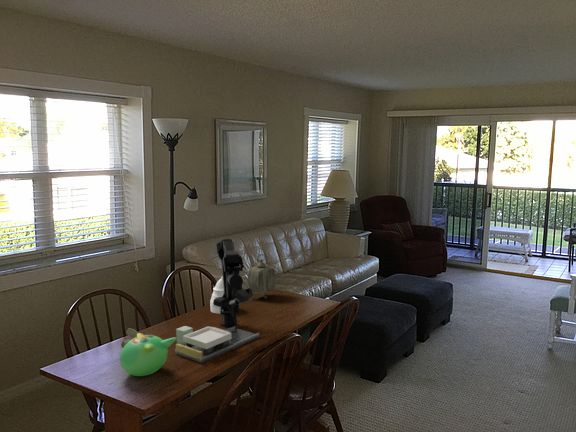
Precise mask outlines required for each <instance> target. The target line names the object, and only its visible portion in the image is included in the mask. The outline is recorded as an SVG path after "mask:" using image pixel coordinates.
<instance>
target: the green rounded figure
mask: <svg viewBox="0 0 576 432" xmlns="http://www.w3.org/2000/svg"><path fill="white" fill-rule="evenodd" d="M129 340H130V341H129V342H128V343H127V344H126V345H125V346H124V348H123V347H122V350H121V352H120V354H119V362H120V366H121V368H122V369H123V371H125V372H126V373H127V374H129V375H130V376H134V377H145V376H150V375H151V374H154V373H156V372H157V371H159V369H161V368H162V367H163V365H164V364H165V363H166V361H167V358H168V354H169V353H168V352H169V349H168V348H169V347H170V346H171V345H172V344H174V343H175V342H177V337H176V336H175V337H170V338H167V339H162V338H161V337H159V336H156V335H153V334H143V333H141V332H138V334H137V337H135V338H133V339H129Z"/></svg>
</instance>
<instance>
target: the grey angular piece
mask: <svg viewBox="0 0 576 432" xmlns="http://www.w3.org/2000/svg"><path fill="white" fill-rule="evenodd" d="M138 333H139V332H138V331H137V330H135V329H134V328H127V330H126V335H127V336H130V337H131V338H132V339H133V338H135V337H137V334H138ZM132 339H126V340H124V339H122V341H121V342H120V346H121V348H122V349H123V348H124V346H125V345H126V344H127V343H128V342H129V341H130V340H132Z"/></svg>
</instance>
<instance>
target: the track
mask: <svg viewBox="0 0 576 432" xmlns="http://www.w3.org/2000/svg"><path fill="white" fill-rule="evenodd" d="M225 330H226V331H229V332H230V333H231V335H232V339H230V343H229V345H228V346H227V347H223V345H222V343H220V344H218V345H215V346H213V347H212V348H213V352H212V353H211V354H207V353H206V349H204V348H201V347H198V346H195V345H193V346H192V347H187V346H186V344H185V345H183V344H180V343H176V344H175V349H174V354H175V355H178V356H180V357H184V358H186V359H189V360H191V361H195V362H197V363H198V364H199V363H200V364H202V363H206V362H208V361H209V360H212V359H214V358H216V357H218V356H221V355H224V354H225V353H227V352H228V353H229V352H231V351H232V350H234V349H237V348H239V347H241V346H243V345H245V344H248V343H249V342H250V343H251V342H252V341H255V340H257V339H259V338H261V335H260V332H257V333H253V332H251V331H248V330H243V329H241V328H240V329H239V328H236V326H233V327H231V328H225Z"/></svg>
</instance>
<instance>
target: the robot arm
mask: <svg viewBox="0 0 576 432" xmlns="http://www.w3.org/2000/svg"><path fill="white" fill-rule="evenodd" d="M215 255H217V259H218V260H219V261H220V263H221V277H222V276H223V289H224V294H223V296H222V297H218V298H215V299H214V300H213V304H214V305H215V306H219V309H220V314H219V315H220V316H221V320H222V323H221V324H219V326H221V327H223V328H226V329H228V328H231V327H233V326H235V327H236V326H239V323H238V322H237V321H238V319H237V314H239V313H240V305H241V304H244V303H246V302H249V301H250V299H252V297H253V296H254V293H253V292H252V289H251V288H248V287H247V288H245V289H243V284H244V280H243V277H242V276H241V274H240V272H242V271H243V272H244V267H245V266H244V260H243V258H242V256H241V255H240V254H239V252H238V251H236V250H235V242H234V241H233V240H232V238H222V239H220V241H219V242H217V243H216V245H215Z"/></svg>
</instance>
